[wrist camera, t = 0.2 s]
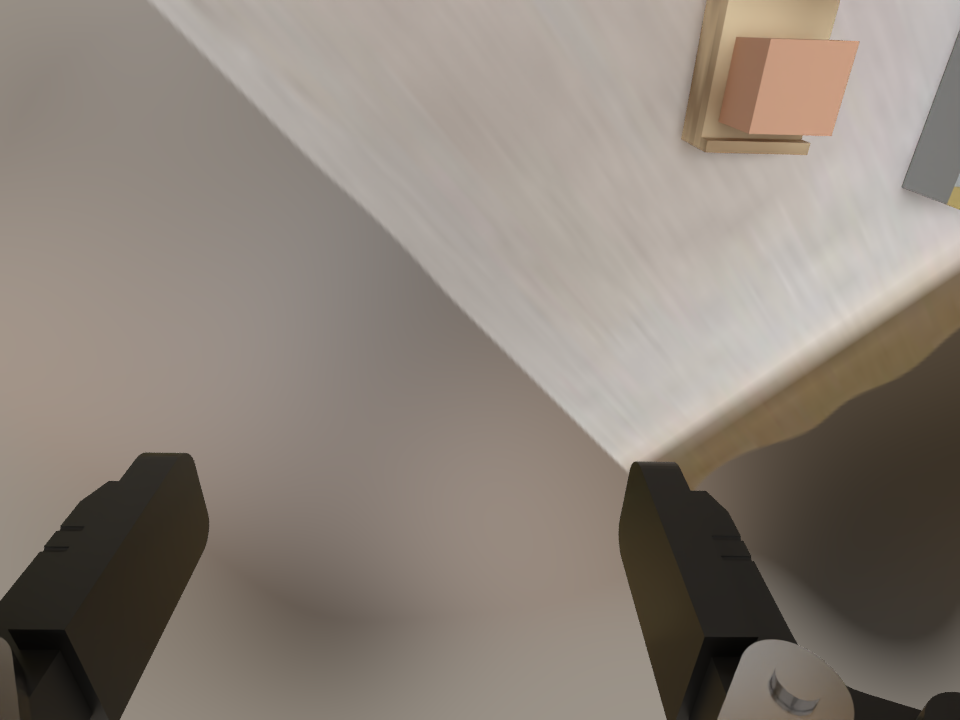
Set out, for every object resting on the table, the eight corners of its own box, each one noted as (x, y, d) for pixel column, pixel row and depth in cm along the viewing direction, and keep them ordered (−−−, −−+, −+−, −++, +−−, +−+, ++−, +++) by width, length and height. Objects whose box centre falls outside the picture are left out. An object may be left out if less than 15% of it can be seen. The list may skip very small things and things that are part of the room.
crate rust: (736, 36, 30) (771, 38, 27) (814, 39, 30) (859, 41, 27) (718, 121, 32) (748, 133, 28) (792, 123, 32) (831, 135, 29)
